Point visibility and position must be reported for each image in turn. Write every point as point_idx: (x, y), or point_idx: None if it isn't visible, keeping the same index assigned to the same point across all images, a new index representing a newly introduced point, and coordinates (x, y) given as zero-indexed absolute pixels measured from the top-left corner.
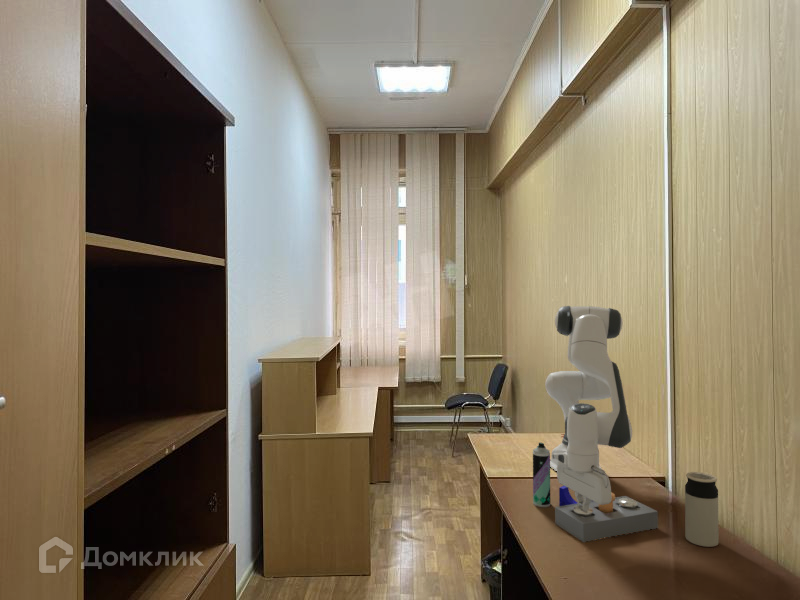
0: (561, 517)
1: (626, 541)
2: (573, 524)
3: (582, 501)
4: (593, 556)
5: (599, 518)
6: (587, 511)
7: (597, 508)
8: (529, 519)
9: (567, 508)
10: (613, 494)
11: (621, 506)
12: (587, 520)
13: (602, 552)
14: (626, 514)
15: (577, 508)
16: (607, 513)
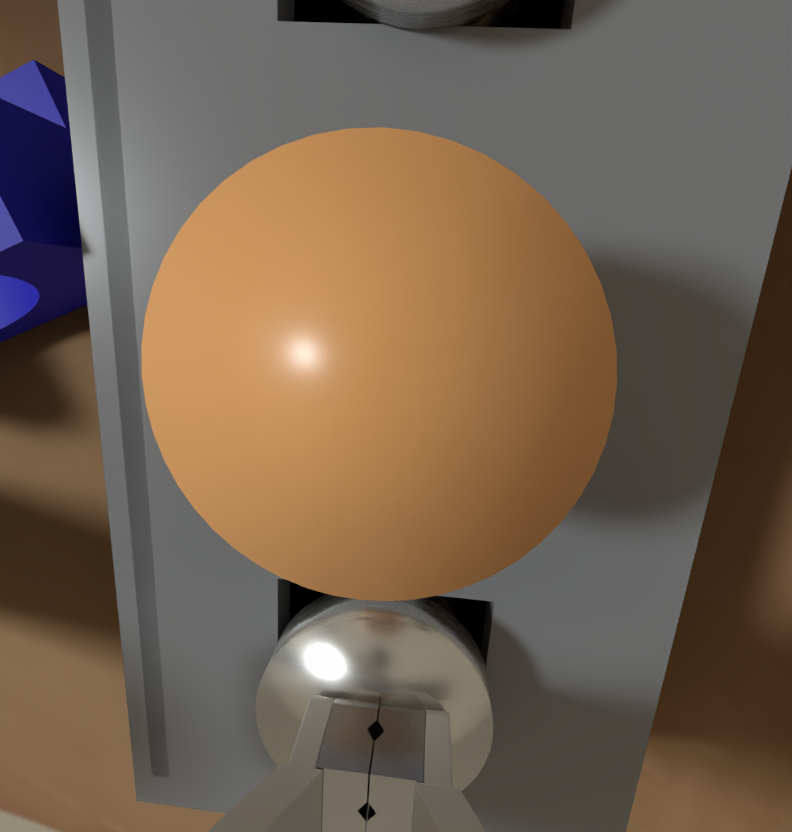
0: None
1: (746, 404)
2: None
3: (322, 795)
4: (762, 789)
5: (594, 639)
6: (470, 743)
7: None
8: (97, 757)
9: (210, 732)
10: (477, 199)
11: (441, 26)
12: (566, 778)
13: (759, 704)
14: (703, 206)
15: None
16: None
